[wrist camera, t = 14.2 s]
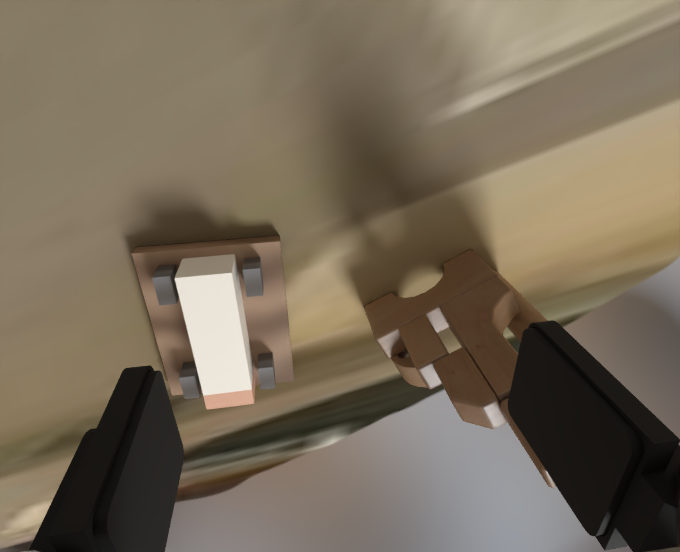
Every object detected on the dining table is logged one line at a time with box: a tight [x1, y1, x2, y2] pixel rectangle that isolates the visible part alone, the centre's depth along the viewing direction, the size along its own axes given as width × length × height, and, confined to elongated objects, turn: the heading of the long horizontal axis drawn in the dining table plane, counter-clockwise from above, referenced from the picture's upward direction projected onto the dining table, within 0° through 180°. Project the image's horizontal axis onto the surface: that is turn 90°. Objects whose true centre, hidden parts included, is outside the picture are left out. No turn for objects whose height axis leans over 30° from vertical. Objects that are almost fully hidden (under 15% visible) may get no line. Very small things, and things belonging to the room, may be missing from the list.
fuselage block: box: [175, 254, 255, 409], centre depth 44 cm, size 16×5×4 cm, turn 2°
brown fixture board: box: [132, 236, 294, 399], centre depth 45 cm, size 18×14×4 cm
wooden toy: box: [364, 249, 556, 488], centre depth 39 cm, size 16×7×25 cm, turn 119°
